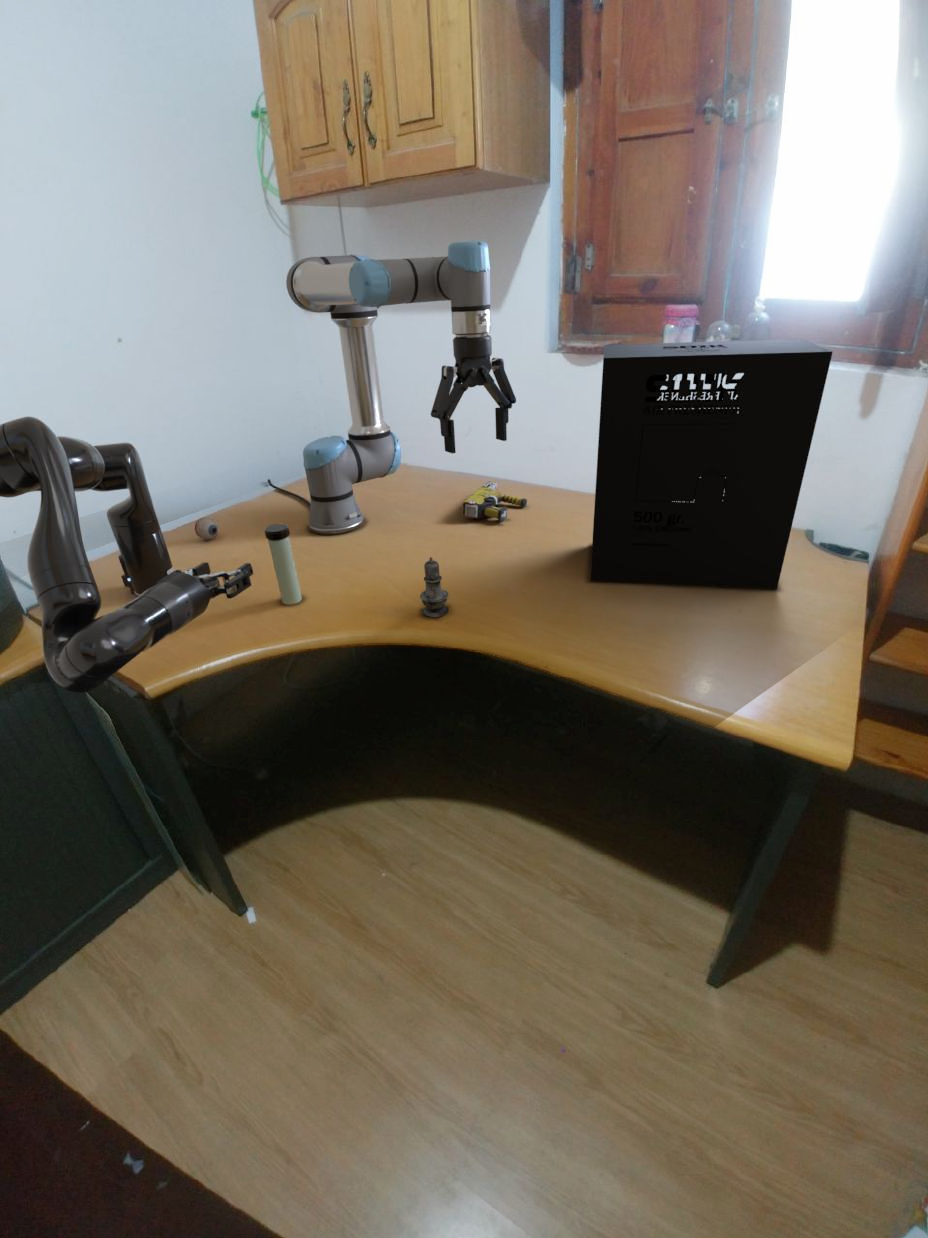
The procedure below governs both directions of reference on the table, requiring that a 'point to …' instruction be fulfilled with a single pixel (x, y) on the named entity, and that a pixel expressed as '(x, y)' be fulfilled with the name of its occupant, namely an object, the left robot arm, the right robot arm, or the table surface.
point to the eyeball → (206, 528)
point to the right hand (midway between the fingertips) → (476, 445)
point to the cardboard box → (703, 460)
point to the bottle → (285, 571)
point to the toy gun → (489, 503)
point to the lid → (277, 532)
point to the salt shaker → (433, 591)
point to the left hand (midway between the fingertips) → (228, 567)
